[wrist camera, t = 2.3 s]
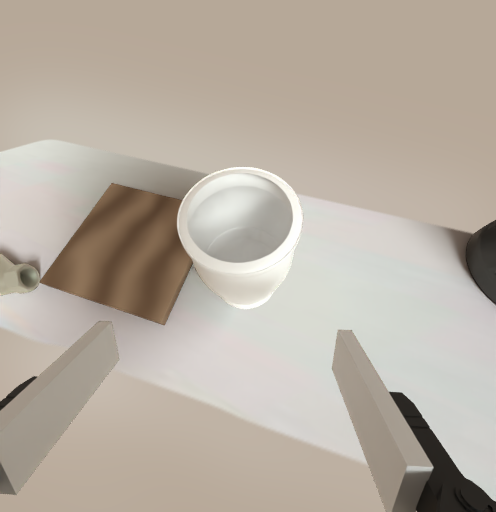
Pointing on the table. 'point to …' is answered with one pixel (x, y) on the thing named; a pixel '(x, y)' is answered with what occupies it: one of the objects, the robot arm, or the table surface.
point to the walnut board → (126, 255)
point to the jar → (241, 233)
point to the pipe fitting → (17, 277)
